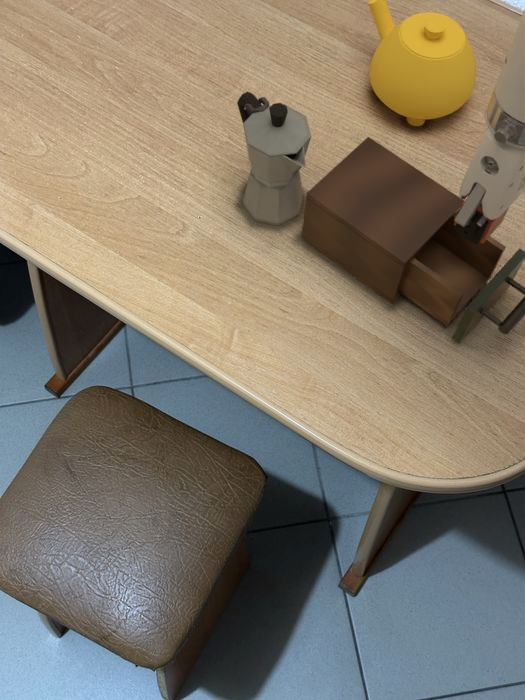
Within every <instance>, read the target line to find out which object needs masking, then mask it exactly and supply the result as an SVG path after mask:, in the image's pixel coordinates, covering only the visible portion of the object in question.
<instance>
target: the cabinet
mask: <svg viewBox="0 0 525 700" xmlns="http://www.w3.org/2000/svg"><path fill="white" fill-rule="evenodd" d="M464 201H465V200H464V199H462V200H460V197H459V196H458V195H457V194H455V193H454V192H452V191H450V190H449V189H447V188H446V187H445V186H443V185H442V184H440V183H438V181H436V180H434V178H432V177H430V176H428V175H427V174H425V173H424V172H422V171H421V170H420V169H418V168H416V167H415V166H413V165H412V164H411V163H409V162H407V161H405V159H403V158H401V157H400V156H398V155H397V154H396V153H394V152H393V151H390V150H389V149H388V148H386V147H385V146H384V145H382V144H381V143H379V142H377V141H376V140H374V139H373V138H372V137H370V136H367V137H366V138H365V139H364V140H362V142H361V143H359V144H358V145H357V146H356V147H355V148H354V149H353V150H352V151H351V152H350V153H349V154H348V155H347V156H346V157H344V158H343V159H342V160H341V161H340V162H339V163H338V164H337V165H336V166H334V167H333V168H332V169H331V170H330V171H329V172H328V173H326V175H325V176H323V177H322V178H321V179H320V180H319V181H318V182H317V183H316V184H314V186H313V187H312V188H311V189H309V190H308V191H307V192H306V197H305V202H304V203H305V204H304V211H303V221H302V229H301V239H302V240H304V241H305V242H307V243H308V244H310V245H311V246H312V247H314V248H315V249H316V250H318V251H319V252H320V253H322V254H323V255H325V256H326V257H328V258H329V259H330V260H332V261H333V262H334V263H336V264H337V265H338V266H340V267H341V268H343V269H344V270H345V271H346V272H348V273H349V274H351V275H352V276H353V277H355V278H356V279H358V280H359V281H360V282H362V283H363V284H364V285H366V287H368V288H370V289H371V290H372V291H374V292H375V293H376V294H378V295H379V296H381V297H382V298H383V299H384V300H386V301H388V302H389V303H390V304H391V305H393V304H394V303H395V302H396V301H397V299H399V298H400V296H401V295H403V294H402V293H401V292H399V289H400V286H401V283H402V280H403V277H404V274H405V271H406V268H407V265H408V263H409V261H410V260H411V259H412V258H413V257H414V256H415V255H416V254H417V253H418V252H419V251H420V250H421V249H422V248H423V247H424V246H425V245H426V244H427V243H428V242H429V241H430V240H431V239H432V238H433V237H434V236H435V235H436V234H437V233H438V231H439V230H440V229H441V228H442V227H443V226H444V225H445V224H446V223H447V222H448V221H449V220H450V219H451V218H452V217H453V216H454V215H455V214H456V213H457V214H458V213H459V210H460V208H461V205H462V203H463V202H464Z"/></svg>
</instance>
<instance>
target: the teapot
mask: <svg viewBox="0 0 525 700" xmlns="http://www.w3.org/2000/svg"><path fill="white" fill-rule="evenodd" d="M387 2H388V1H387V0H369V1H368V2H367V5H368V7H369V10H370V13H371V15H372V18H373V22H374V24H375V27H376V30H377V33H378V36H379V38H380V41H381V42H380V43H379V44H378V46H377V48H376V49H375V52H374V54H373V56H372V58H371V61H370V65H369V69H368V70H369V71H368V74H369V81H370V82H369V83H370V85H371V87H372V90H373V92H374V93H375V95H376V96H377V98H378V99H379V100H380V101H381V103H383V104H384V105H385V106H387V107H388V108H389V109H390V110H391V111H393V112H395V113H397V114H399V115H400V116H403V117H406V122H407V123H408V124H409V125H410V126H413V127H420V126H423V125H424V124H425V122H426V120H432V119H438V118H443V117H446V116H447V115H448V116H449V115H451V114H453V113H454V112H456V111H458V110H459V109H460V108H461V107H463V106H464V105H465V104H466V103H467V102H468V100H469V99H470V98H471V96H472V94H473V92H474V89H475V84H476V78H477V63H476V57H475V52H474V50H473V49H474V48H473V47H472V45H471V42H470V40H469V38H468V36H467V33H466V32H465V30H464V29H463V28H462V26H461V25H460V23H458V22H457V21H456V20H454V19H452V18H451V17H449V16H447V15H445V14H442V13H439V12H431V11H430V12H429V11H427V12H419V13H416V14H413V15H410V16H409V17H407V18H406V19H404V20H402V21H401V22H399V24H397V25H396V24H395V22H394V19H393V17H392V14H391V11H390V8H389V5H388V3H387Z"/></svg>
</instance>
